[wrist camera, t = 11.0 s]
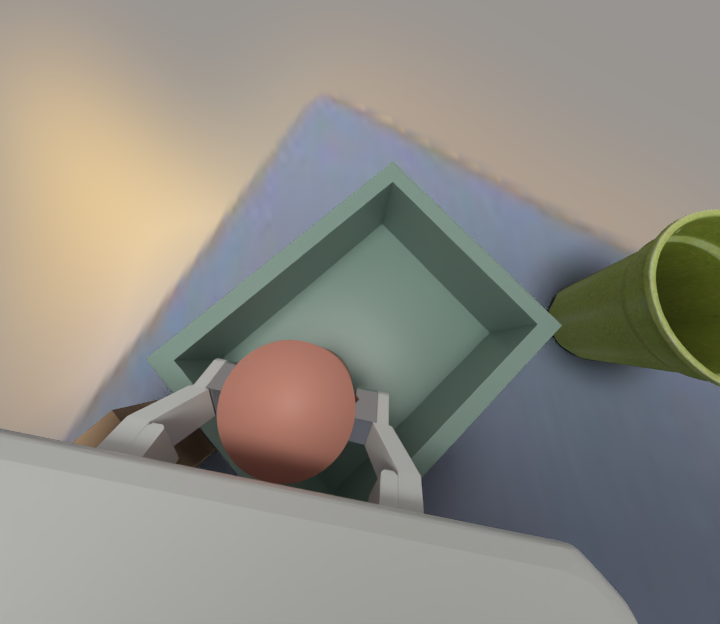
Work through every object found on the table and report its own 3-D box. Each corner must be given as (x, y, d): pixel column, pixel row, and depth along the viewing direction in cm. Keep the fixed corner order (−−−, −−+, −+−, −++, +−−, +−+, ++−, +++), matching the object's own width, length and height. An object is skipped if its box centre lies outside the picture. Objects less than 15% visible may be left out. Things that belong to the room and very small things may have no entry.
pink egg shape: (368, 388, 16) (383, 411, 9) (308, 446, 16) (277, 517, 9) (317, 331, 17) (295, 313, 10) (256, 384, 16) (188, 405, 9)
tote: (500, 334, 20) (562, 325, 14) (332, 508, 18) (323, 584, 12) (381, 214, 22) (393, 161, 16) (208, 358, 19) (145, 359, 13)
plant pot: (609, 256, 22) (773, 192, 14) (657, 362, 21) (876, 366, 12) (511, 281, 21) (619, 230, 13) (553, 394, 20) (708, 422, 11)
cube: (216, 449, 18) (167, 483, 13) (157, 503, 17) (82, 561, 12) (174, 396, 19) (112, 410, 14) (114, 447, 18) (26, 481, 13)
